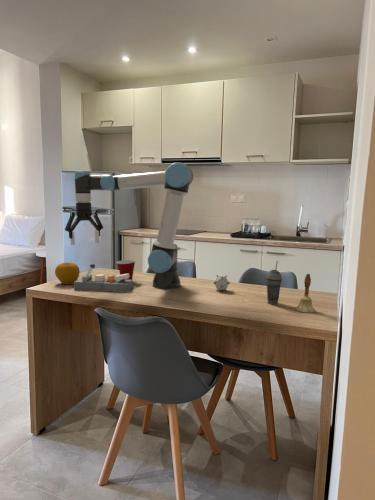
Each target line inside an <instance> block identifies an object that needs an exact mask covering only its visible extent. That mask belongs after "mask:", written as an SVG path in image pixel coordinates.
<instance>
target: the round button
mask: <svg viewBox="0 0 375 500" xmlns="http://www.w3.org/2000/svg"><path fill="white" fill-rule="evenodd" d="M106 279H107V282H115V274H108V275H107V278H106Z"/></svg>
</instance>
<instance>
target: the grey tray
mask: <svg viewBox="0 0 375 500" xmlns="http://www.w3.org/2000/svg"><path fill="white" fill-rule="evenodd" d="M131 289H133V279H132V280H125V279H122V280H117V281H116V280H115V282H107V278H105V281H104V282H95V277H93V275H92V273H91V276H90V279H88V280H87V277H86V276H82V277H81V278H78V279H77V281H75V282H74V284H73V290H74V291H75V290H76V291H96V292H97V291H98V292H99V291H101V292H119V293H121V292H122V293H128V292H129V291H130V290H131Z"/></svg>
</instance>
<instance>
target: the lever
mask: <svg viewBox="0 0 375 500" xmlns="http://www.w3.org/2000/svg"><path fill="white" fill-rule="evenodd" d="M95 268H96V265H95V264H94V263H91V264H89V268H88V271H87V273H86V275H85V277H87V280H88V279H90V276H91V274H92V273H93V271H94V269H95Z"/></svg>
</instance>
